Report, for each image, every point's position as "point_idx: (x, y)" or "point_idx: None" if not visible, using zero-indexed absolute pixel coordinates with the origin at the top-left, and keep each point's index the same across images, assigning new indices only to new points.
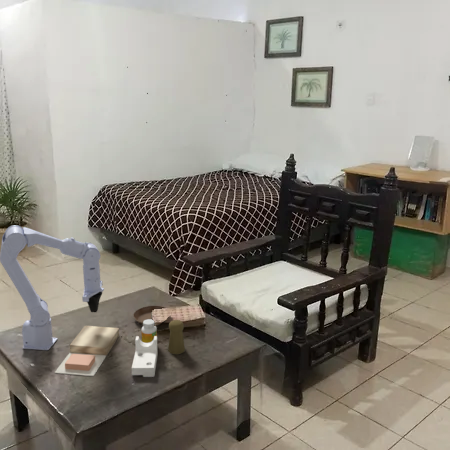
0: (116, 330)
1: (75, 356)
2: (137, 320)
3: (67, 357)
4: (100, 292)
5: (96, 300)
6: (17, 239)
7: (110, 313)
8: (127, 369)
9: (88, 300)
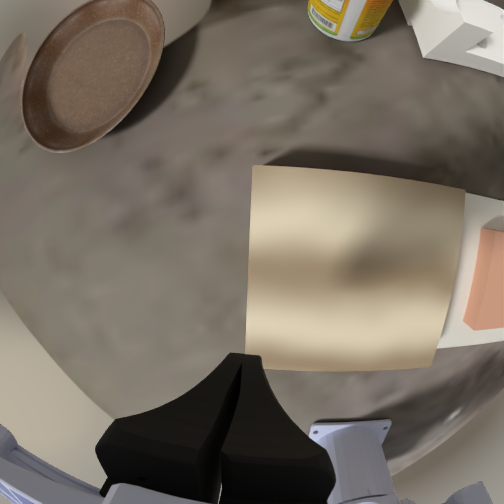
0: (285, 172)
1: (491, 309)
2: (134, 101)
3: (451, 342)
4: (141, 463)
5: (308, 441)
6: None
7: (67, 276)
8: (500, 97)
9: (476, 493)
